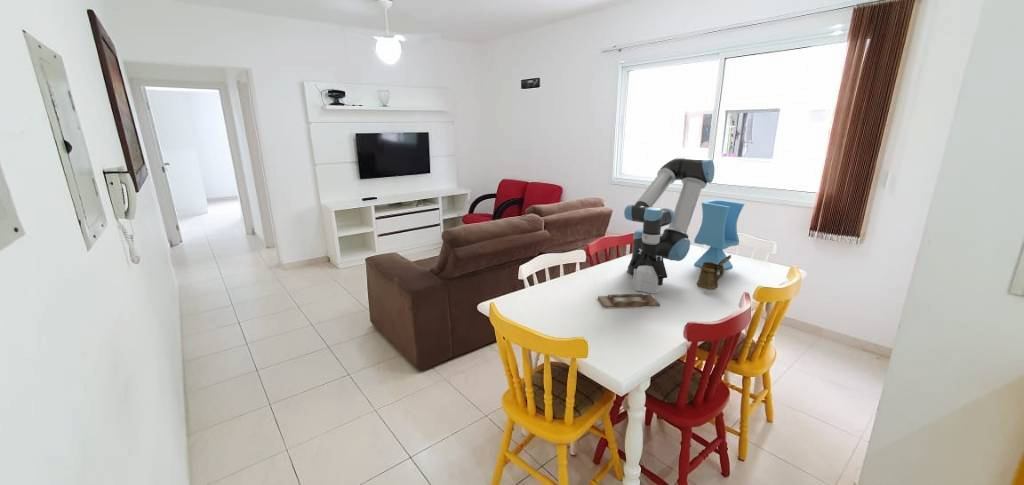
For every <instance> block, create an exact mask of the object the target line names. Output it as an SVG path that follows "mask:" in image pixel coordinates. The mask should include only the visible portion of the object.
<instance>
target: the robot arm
mask: <svg viewBox="0 0 1024 485" xmlns="http://www.w3.org/2000/svg"><path fill="white" fill-rule="evenodd" d="M714 163H715V162H714V161H713V159H711V158H708V157H688V156H687V157H685V156H682V157H681V156H680V157H675V158H673V159H671V160H669V161H668V162H666V163H664V165H663V166H661V168H660V169H659V170H658V171H657V173H656V175H657V176H656V177H655V178H654V180H653V181H652V182H651V183H650V185H648V186H647V188H646V190H645V191H644V192H643V193H642V195H641V196H640V197H639V199H637V201H636V202H635V204H629V205H627V206H625V208H624V210H623V211H624V212H623V215H624V218H625V219H626V220H627V221H631V222H636V223H643V225H642V228H640V229H637V230H635V231H634V233H633V238H632V240H633V241H632V255H631V259H630V260H629V263H628V266H627V273H628V274H629V275H632V276H633V277H632V282H633V283H635V281H636V271H637V268H638V266H652V267H653V268H654V270H655V272H656V274H657V277H658V278H656V286H655V292H657V293H658V292H661V290H662V286H663V283H664V281H663V280H664V279H668V273H667V270H666V266H665V263H664V259H665V260H669V261H673V262H675V261H676V262H680V261H682V260H684V259H685V258H686V257H687V255H688V254H689V252H690V251H689V250H690V249H691V247H690V246H691V240H690V239H689V234H688V233H687V231H688V229H689V226H690V223H691V220H692V217H693V215H694V212H695V208H696V206H697V203H698V200H699V196H700V195H701V194H700V193H701V191H702V189H704V188H706V186H707V184H710V183H712V182H713V181H714V179H715V164H714ZM676 181H681V183H682V187H681V190H680V193H679V196H678V199H677V202H676V205H675V207H674V211H673V210H672V209H670V208H660V207H654V206H655V204H656V203H657V202H658V201H659V199H660V197H661V196H662V195H663V194H664V193H665V191H666V190H667V189H668V187H669V186H670V185H671V184H673V183H675V182H676ZM665 226H668V227H667V228H665V229H664V230H663V231H662V232H663V233H661V228H662V227H665Z"/></svg>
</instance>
